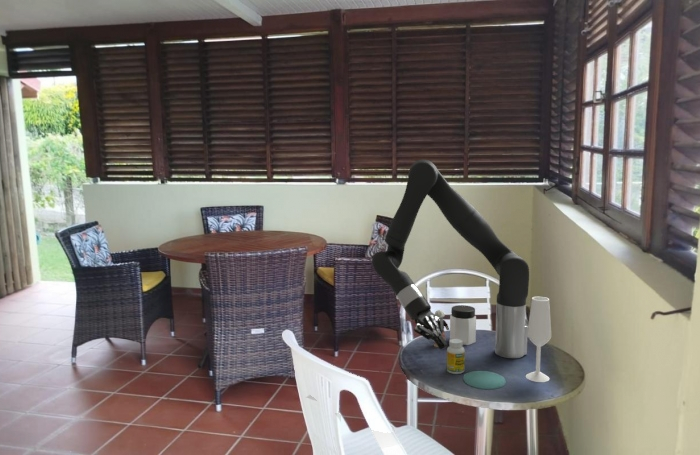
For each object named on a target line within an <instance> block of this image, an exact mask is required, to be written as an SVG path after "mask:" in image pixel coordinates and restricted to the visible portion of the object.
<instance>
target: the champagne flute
mask: <svg viewBox="0 0 700 455" xmlns="http://www.w3.org/2000/svg"><path fill="white" fill-rule="evenodd" d="M550 306H551V305H550V298H548V297H545V296H533V297H531V304H530V310H529V311H530V312H529V318H528V325H527V327H528V331H527V339H529V341H530V342H531V343H532V344H533V345H534V346H536V352H535V353H536V354H535V357H536V358H535V370H534V371H532V372H529V373H527V374H526V375H525V378H526V379H527V380H529V381H532V382H536V383H545V382H549V381H550V377H549V376H548V375H546V374H545V373H543V372H541V353H542V351H541V350H542V347H543V346H544V345H546V344H547V343H549V341H550V340H551V338H552V325H551V324H552V322H551V308H550Z"/></svg>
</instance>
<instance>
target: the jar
mask: <svg viewBox="0 0 700 455" xmlns="http://www.w3.org/2000/svg"><path fill="white" fill-rule="evenodd" d="M450 312H451V314H450V316H449V340H451V339H460V340H462V341H463V345H462V346H469V345H472V344H475V343H476V338H477V335H476V334H477V316H476V308H475V307H473V306H472V305H466V304H465V305H464V304H461V305H460V304H459V305H454V306H452V307H451V311H450Z"/></svg>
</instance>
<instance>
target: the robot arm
mask: <svg viewBox="0 0 700 455" xmlns="http://www.w3.org/2000/svg"><path fill="white" fill-rule="evenodd" d="M407 173H408V175H407V177H408V178H407V182H406V186H405V191H404V193H403V196H402V199H401V202H400V204H399V207H398V208H397V211H396V212H395V214H394V216H393V218H392V220H391V222H390V225H389V227H388V230H387V232H386V235H385V239H384V240H385V243H386V244H387V248H386V251H384V250H383V251H382V250H381V251H378V252H376V253H374V254H373V256H372V258H371V265H372V267H373V270H374V271H375V273H376V274H377V276H379V277H380V278H381V279H382V280H383V281H384V282H385V283H386V284H388V286H389V287H390V288H391V290H392V291H393V293H394V294H395V296H396V297H397V299H398V301H399V304H400V305H401V306H402V308H403V310H404V311H405V312H406V314H407V315H408V317H409V318H410V320H412V321H414V323H415V324H416V325H415V327H414V328H413V331H414V332H415V333H416V334H418V335H420V336H421V337H423V338H425V339H427V340H432V341H435V343H436V344H437V346H438V347H437V348H439V349H440V350H444V349H446V348H448V343H447V340H446V339H445V340H444V338H443V337H442V333H443V332H444V333H445V326H443V320H444V317H443V318H442V317H439V318H438V317H436V316H435V313H433V312H432V311H431V308H432V307H431V304H430V303H429V302H428V300H427V299H426V297H425V296H424V295H423V293H422V291H421V290H420V289H419V288H418V287H417V286H416V285H415V282H414V281H413V280H412V279H411V277H410V275H408V273H407V272H405V271H403V270H400V269H399V268H400V266H401V264H402V262H403V259H404V254H405V253H404V252H405V246H406V243H407V241H408V239H409V236H410V235H411V232H412V229H413V226H414V224H415V221H416V218H417V217H418V213H419V211H420V208H421V206H422V205H423V202H424V200H426V197H427V196H428V197H429V198H430V199H431V200H432V201H433V202H434V203H435V205H437V207H438V209H439V211H440V212H441V214H442V215H443V216H444V218H445V219H446V221H447V222H448V223H449V225H451V227H452V228H453V229H454V230H455V231H456V232H457V233H458V234H459V236H461V237H462V238H463V239H464V240H465V241H466V242H467V243H468V244H470V245H471V246H472V247H474V248H475V249H476V250H477V251H479V252H480V253H481V254H482V255H483V257H484V258H485V259H486V260H487V261H488V262H489V263H490V265H491V266H492V268H493V269H494V270H495V272H496V274H497V275H498V276H499V282H498V284H499V285H498V293H497V294H496V310H495V311H496V312H495V314H496V315H495V341H494V342H495V347H494V348H495V349H494V352H495V354H496V355H497V356H499V357H502V358H506V359H519V358H522V357H524V356H525V355H527V354H528V353H527V352H528V336H527V331H528V325H526V312H527V310H526V309H527V308H526V307H527V305H526V304H527V298H528V296H529V286H530V285H529V284H530V267H529V264H528V262H527V261H526V260H525V259H524V258H522V257H521V256H520V255H518V254H517V253H515V252H514V251H513V250H512V249H511V248H509V247H508V246H507V245H506V244H505V243H504V242H503V241H501V240H500V238H499V237H498V236H497V234H496V233H495V231H494V230H493V229H492V227H491V226H490V224H489V223H488V221H487V220H486V219H485V217H484V216H483V215H482V214H481V213H480V212H479V211H478V210H477V209H476V208H475V207H474V206H473V205H472V204H471V203H470V202H469V201H468V200H467V199H466V198H465V197H463V196H462V195H461V194H460V193H459V192H457V190H455V189H454V187H452V186H451V185H450V183H448V181H447V180H446V179H445V178H444V175H442V174H441V172H440V171H439V170H438V168H437V166H436V165H435V164H434V163H433V162H432V161H431V160H428V159H419V160H416V161H414V162H413V163H412V164H411V166H410V167H409V170H408V172H407ZM435 343H434V344H435Z"/></svg>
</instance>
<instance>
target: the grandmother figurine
mask: <svg viewBox="0 0 700 455" xmlns="http://www.w3.org/2000/svg"><path fill="white" fill-rule="evenodd" d="M434 315H435V316H436V317H438V318H439V317H442V318H443V326H444V329H445V330H446V331H450V327H449V325H448V323H447V322H446V320H445V319H444V317H445V316H446V314H445V311H443V310H441V309H438V310H436V311H435V313H434ZM442 337H443V338H444V340H445V341H446V333H445V331H444V332H443V333H442ZM433 341H434V340H433ZM433 347H435V348H439V347H438V346H437V344H436V343H435V341H434V345H433Z"/></svg>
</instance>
